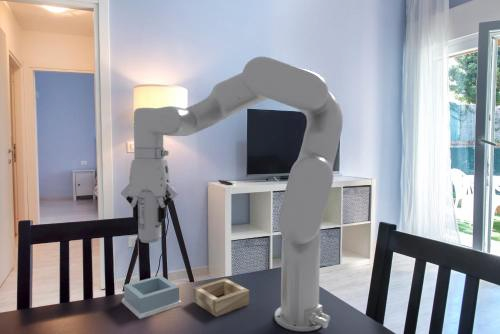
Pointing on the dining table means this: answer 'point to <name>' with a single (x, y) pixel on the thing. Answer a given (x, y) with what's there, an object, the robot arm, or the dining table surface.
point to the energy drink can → (148, 217)
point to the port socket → (151, 296)
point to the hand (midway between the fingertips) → (149, 220)
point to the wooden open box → (218, 306)
